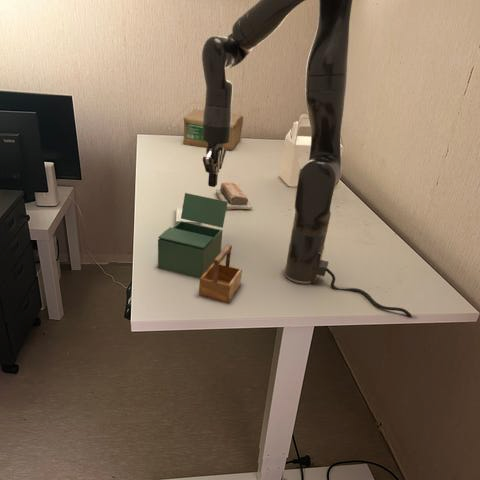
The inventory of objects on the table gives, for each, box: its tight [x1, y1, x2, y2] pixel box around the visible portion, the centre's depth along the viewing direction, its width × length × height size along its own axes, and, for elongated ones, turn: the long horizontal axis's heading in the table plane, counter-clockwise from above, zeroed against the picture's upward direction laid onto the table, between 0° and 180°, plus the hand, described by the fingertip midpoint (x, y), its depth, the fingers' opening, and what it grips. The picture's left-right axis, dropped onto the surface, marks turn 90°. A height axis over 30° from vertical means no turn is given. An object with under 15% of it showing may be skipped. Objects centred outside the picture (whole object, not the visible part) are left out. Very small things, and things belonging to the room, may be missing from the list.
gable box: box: [279, 113, 344, 188], centre depth 199 cm, size 22×13×28 cm, turn 103°
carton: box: [157, 221, 223, 279], centre depth 130 cm, size 15×13×9 cm
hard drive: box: [175, 207, 202, 225], centre depth 158 cm, size 2×8×12 cm
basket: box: [198, 243, 243, 304], centre depth 118 cm, size 10×8×11 cm
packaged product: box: [215, 182, 253, 211], centre depth 176 cm, size 18×5×10 cm
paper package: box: [183, 108, 244, 151], centre depth 244 cm, size 27×26×14 cm
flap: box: [181, 192, 228, 229], centre depth 132 cm, size 7×13×1 cm
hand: (212, 185), depth 134 cm, fingers closed
